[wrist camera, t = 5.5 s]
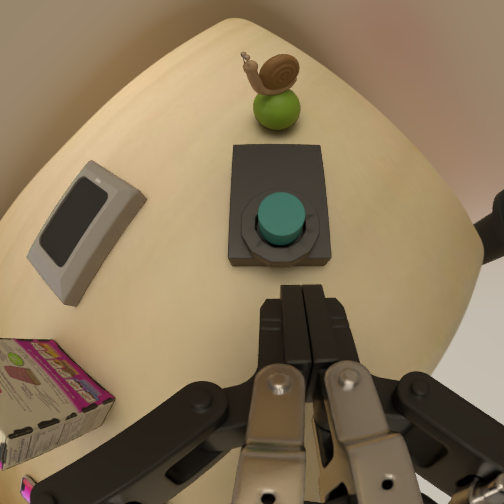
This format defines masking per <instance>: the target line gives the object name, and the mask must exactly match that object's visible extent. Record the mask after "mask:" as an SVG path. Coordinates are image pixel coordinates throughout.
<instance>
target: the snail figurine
mask: <svg viewBox="0 0 504 504" xmlns="http://www.w3.org/2000/svg"><path fill="white" fill-rule="evenodd" d="M241 56H242V57H243V61H244V59H245V60H247V61H246V62H245V61H244V65H243V69H244V71H245V72H246V74H247V77H248V80H249V82H250V84H251V86H252V88H253V89H254V90H255V91H256V92H257V93H258V94H257V96H256V98H255V100H254V104H253V111H254V114H255V117H256V118H257V120H258V121H259V122H260V123H261V124H262V125H263V126H265V127H267V128H270V129H274V130H281V129H285V128H288V127H289V126H291V125H292V124H294V123H295V121H296V120H297V119H298V117H299V114H300V102H299V99H298V97H297V96H296V95H295V93H294V92H293V91H291V90H290V88H291V87H292V86H293V85H294V83H295V82H296V80H297V78H296V77H297V75H298V73H299V63H298V61H297V59H296V58H295V57H293V56H291V55H288V54H281V55H276V56H274V57H272V58H270V59H269V60H267V61H266V62H265V63H264V65H263V66H262V67H261V69H260V72H259V75H258V72H257V69H258V64H257V63H256V62H255V61H253V60H249V59H250V56H249V55H246V52H241ZM248 60H249V61H248Z"/></svg>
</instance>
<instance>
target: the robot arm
mask: <svg viewBox="0 0 504 504" xmlns="http://www.w3.org/2000/svg"><path fill="white" fill-rule="evenodd" d="M310 402H313V410H314V413H313V417H312V427H313V433H314V439H315V445H316V451H317V458H318V464H319V480H318V485H319V494H320V501H321V503H318V502H310V501H304V490H305V473H306V450H305V447H304V420H305V403H310ZM241 446H242V448H241V452H240V456H239V462H238V468H237V474H236V479H235V485H234V491H233V496H232V502H231V504H437V503H436V502H435V501H433V500H432V499H431V498H429V497H428V496H426V495H425V494H423V493H421V492H420V489H419V485H418V482H417V478H416V474H415V473H417V474H418V475H420V476H421V477H422V478H424V479H425V480H427V481H429V482H430V483H431V484H433V485H434V486H435V487H437V488H439V489H440V490H441V491H443V492H444V493H446V494H447V495H449V496H450V497H452V498H451V500H450V502H449V503H448V504H504V426H503V425H502V424H501V423H499V422H497V421H496V420H495V419H493V418H492V417H490V416H489V415H487V414H486V413H484V412H483V411H481V410H480V409H478V408H477V407H475V406H474V405H472V404H471V403H469V402H468V401H466V400H465V399H463V398H462V397H460V396H459V395H458V394H456V393H454V392H453V391H452V390H450V389H449V388H447V387H446V386H444V385H443V384H441V383H440V382H438V381H437V380H435V379H434V378H432V377H431V376H429V375H428V374H426V373H423V372H417V371H416V372H410V373H407V374H406V375H404V376H403V377H402V378H401V380H400V381H398V380H391V379H384V378H379V377H376V376H374V375H372V374H370V372H369V371H368V369H367V368H366V367H365V366H363V365H362V364H361V363H360V361H359V358H358V354H357V351H356V347H355V343H354V340H353V336H352V333H351V330H350V328H349V323H348V319H347V316H346V313H345V310H344V307H343V306H342V304H341V303H340V302H339V301H338V300H337V299H336V298H325V295H324V292H323V288H322V285H321V284H318V285H281V286H280V299H266V300H265V302H264V303H263V305H262V306H261V308H260V328H259V354H258V368H257V370H256V372H255V374H254V375H253V376H252V377H251V378H250V379H249V380H248V381H246V382H244V383H242V384H240V385H237V386H232V387H228V388H224V389H222V388H221V387H219V386H218V385H216V384H214V383H211V382H207V381H198V382H193V383H191V384H188V385H187V386H185V387H184V388H182V389H181V390H180V391H178V392H177V393H176V394H174V395H173V396H172V397H170V398H169V399H167V400H166V401H165V402H163V403H162V404H161V405H159V406H158V407H156V408H155V409H154V410H152V411H151V412H150V413H148V414H147V415H145V416H144V417H142V418H141V419H140V420H138V421H137V422H135V423H134V424H132V425H131V426H129V427H128V428H127V429H125V430H124V431H122V432H121V433H119V434H118V435H116V436H115V437H113V438H112V439H110V440H109V441H107V442H105V443H104V444H102V445H101V446H99V447H98V448H96V449H95V450H93V451H91V452H90V453H88V454H87V455H85V456H83V457H82V458H80V459H78V460H77V461H75V462H73V463H72V464H70V465H68V466H67V467H65V468H63V469H62V470H60V471H58V472H56V473H55V474H53V475H51V476H49V477H47V478H46V479H44V480H42V481H40V482H38V483H37V484H35V485H34V486H33V488H32V490H31V493H30V504H164V503H166V502H167V501H169V500H170V499H171V498H173V497H174V496H176V495H177V494H178V493H180V492H181V491H182V490H184V489H185V488H186V487H187V486H189V485H190V484H191V483H193V482H194V481H195V480H196V479H198V478H199V477H200V476H201V475H203V474H204V473H205V472H206V471H207V470H209V469H210V468H211V467H212V466H213V465H215V464H216V463H217V462H218V461H219V460H220V459H221V458H223V457H224V456H225V455H226V454H227V453H228V452H229V451H230V450H231V449H233V448H237V447H241Z"/></svg>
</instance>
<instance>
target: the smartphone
mask: <svg viewBox="0 0 504 504" xmlns="http://www.w3.org/2000/svg"><path fill="white" fill-rule="evenodd" d="M34 485H35V483H34V482H33V481H32V480H31V479H30V478H29V477H28V476H26V475H25V476H23V477H22V481H21V488H20V493H21V495H22V496H23V498H24V499H25V500H26V501H27V502H28V503H29V504H30V493H31V490H32V488H33V486H34Z"/></svg>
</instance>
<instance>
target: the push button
mask: <svg viewBox="0 0 504 504" xmlns="http://www.w3.org/2000/svg"><path fill="white" fill-rule="evenodd" d="M304 221H305V209H304V206H303V204H302V203H301V201H300V200H299V199H298V198H297V197H295V196H294V195H292V194H289V193H285V192H277V193H273V194H271V195H269V196H267V197H266V198H265V199H264V200H263V201H262V202H261V204H260V206H259V208H258V223H259V230H260V233H261V235H262V236H263V237H264V239H265V240H267V241H268V242H270V243H272V244H274V245H287V244H290V243H292V242H293V241H295V240H296V239H297V238H298V236H299V235H300V233H301V230H302V227H303V224H304Z"/></svg>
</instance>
